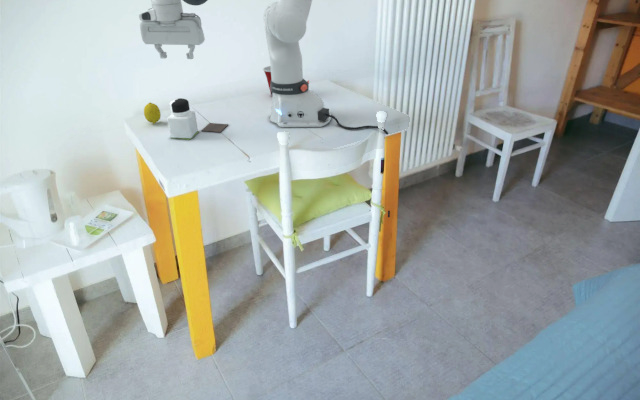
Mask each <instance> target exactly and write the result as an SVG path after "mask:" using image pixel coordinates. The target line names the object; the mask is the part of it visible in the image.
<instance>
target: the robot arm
mask: <svg viewBox="0 0 640 400" xmlns="http://www.w3.org/2000/svg"><path fill="white" fill-rule="evenodd" d="M182 1H183V2H184V3H185V4H187V5H189V6H202V5H203V4H206V2H208V0H150V4H151V8H148V9H147V10H144V11H142V12H140V13H138V19H139V20H140V23H139V29H140V30H139V31H140V36H141V40H142V42H143V43H144V44H145V45H153V46H154V49H155V50H156V52H158V54H159V57H160V59H167V58H168V54H167V51H164V50H163V48H162V47H163V45H166V46H167V45H171V46H173V45H174V46H187V48H188V49H189V51H188V52H187V53H186V54H185V55H186V59H187V60H192V59H194V51H195V49H196V46H200V45H202V44H203V43H204V42H205V41H206V39H205V33H204V30H203V27H202V19H201V17H200V16H199V14H196V13H194V12H191V13H188V12H184V10H183V3H182ZM312 2H313V0H277V1H274V2H271V3H270V4H269V5H267V6H266V8H265V9H264V12H263V23H264V31H265V39H266V44H267V51H268V57H269V66H270V67H271V79H272V80H271V84H270V88H271V92H270V95H271V111H270V115H269V120H270V121H271V123H273V124H276V125H278V127H280V128H322V127H324V126H327V125H328V124H329V123H330V121H331V120H332V119H333V120H334V121H335V123H336V124H337V125H338V126H339V127H340V128H342V129H344V130H361V129H379V128H378V125H362V126H356V127H355V126H344V125H342V124H341V123H340V121H339V120H338V118H337V117H336V116H334V115H332V113H331V112H330V108H327V107H326V106H325V102H324V100H323V99H322V98H320V97H319V96H318V95H317V94H315V93H314V92H313V91H312V90H310V88H309V87H310V86H309V85H310V80H309V79H308V80H306V79H305V78H304V77H303V76H304V75H303V54H302V51H301V48H300V43H299V42H300V41H301V40H302V39H303V38H304V36H305V35H306V31H307V23H308V18H309V15H310V11H311V7H312V4H313V3H312ZM382 131H383V132H384V133H385V134H386V135H389V132H388V131H387V130H386V128H384V130H382ZM390 217H391V210H387V218H390Z"/></svg>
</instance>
